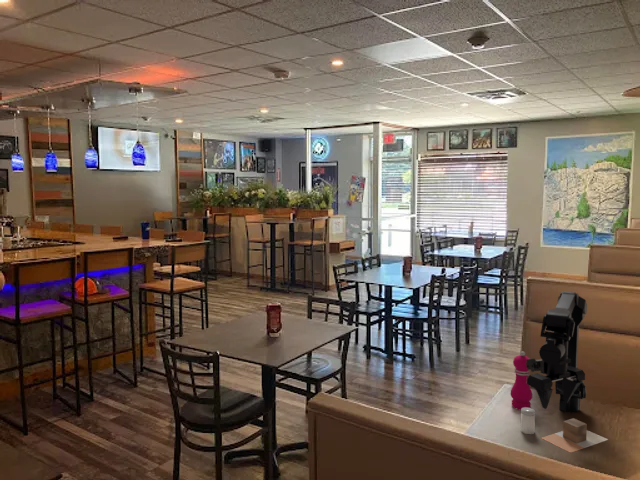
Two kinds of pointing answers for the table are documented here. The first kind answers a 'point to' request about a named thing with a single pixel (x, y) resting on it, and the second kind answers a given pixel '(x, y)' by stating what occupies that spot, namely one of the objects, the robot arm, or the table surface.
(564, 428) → the block
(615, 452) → the table surface
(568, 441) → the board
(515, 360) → the pepper mill
